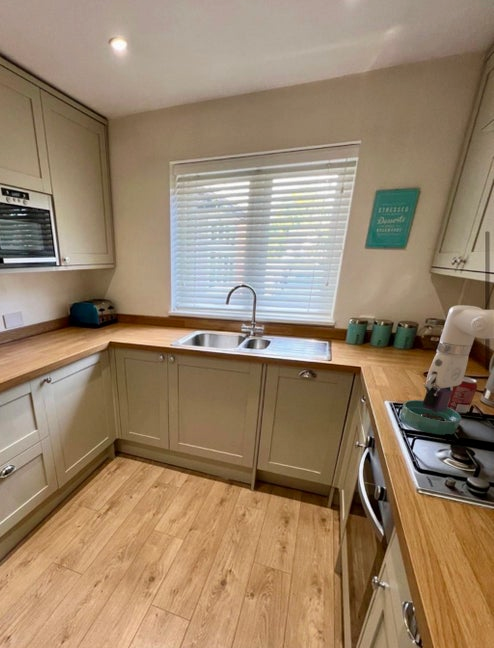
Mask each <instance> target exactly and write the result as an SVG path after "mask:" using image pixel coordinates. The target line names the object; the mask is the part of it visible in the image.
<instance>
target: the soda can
mask: <svg viewBox="0 0 494 648" xmlns="http://www.w3.org/2000/svg"><path fill="white" fill-rule="evenodd" d="M477 389H478V380H477V379H475V378H472V377H469V376H464V378H463V381H462V383H461V384H460V385H458V386H455V387H454V388H453V390H452V394H451V397H450V400H449V402H448V405H447V407H449V408H451V409H453V410H455V411H456V412H457V413H459V414H460V415H462V414H463V415H465V414H467V413H468V411H469V409H470V407H471V405H472V402H473V399H474V397H475V394H476V392H477Z"/></svg>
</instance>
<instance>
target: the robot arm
mask: <svg viewBox="0 0 494 648" xmlns="http://www.w3.org/2000/svg"><path fill="white" fill-rule="evenodd" d="M475 338H477V339H480V340H481V339H482V340H491V339H494V309H483V308H481V307H479V306H475V305H466V304H465V305H463V304H459V305H453V306H451V307H450V308H449V310H448V313H447V317H446V319H445V322H444V326H443V329H442V332H441V335H440V339H439V341H438V345H437V348H436V353H435V355H434V358H433V360H432V362H431V365H430V367H429V369H428V373H427V376H426V382H425V384H424V385H423V387H424V388H425V390H426V392H425V395H426V393H427V395H426V398H425V397H424V398H425V401H424V400H423V401H424V405H427V406H429V407H431V408H435V406H436V403H437V400H438V397H439V396H437V395H438V393H439V391H440V389H441V388H445V389H448V390H451V391H452V390H453V388H454V387H455V386H458V385H460V384H461V383H462V381H463V378H464V377H465V374H466V369H467V367H468V362H469V355H470V352H471V349H472V347H473V344H474V341H475ZM433 386H434V387H436V390H435V389H434V388H433Z"/></svg>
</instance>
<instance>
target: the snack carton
mask: <svg viewBox="0 0 494 648" xmlns="http://www.w3.org/2000/svg"><path fill="white" fill-rule="evenodd" d="M433 388H434V389H435V390H436V387H434V386H433ZM451 394H452V391H451V390H448V389H445V388H441V389H440V391H439V393H438V395H437V396H439V397H438V400H437V403H436V406H435V408H431V407H429V406H427V405H424V401H425V398H426V395H427V393H426V392H425V395H424V397H423V400H422V401H423V405H422V406H423V407H425V408H428V409H430V410H433V411H435V412H439V411H444V410H446V408H447V405H448V402H449V400H450V397H451Z"/></svg>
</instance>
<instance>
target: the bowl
mask: <svg viewBox="0 0 494 648" xmlns="http://www.w3.org/2000/svg"><path fill="white" fill-rule="evenodd" d="M423 401H424V400H422V399H421V400H420V399H409V400H406V401H404V403H403V404H402V407H401V411H400V414H399V419H400V420H401V421H402V422H403V423H404V424H406V425H407V426H409V427H412V428H413V429H416V430H418V431H420V432H424V433H429V434H434V435H440V436H441V435H442V436H446V435H445V434H450V435H453V434H455V433H456V432H457V430H458V427H459V425H460V423H461V420H462V416H461V414H460V413H457V412H456V411H455V410H453V409H451V408H449V407H447V408H446V410H444V411H439V412H435V411H433V410H430V409H428V408H425V407H423V406H422V405H423ZM422 413H429V414H434V415H437V416H441V417H443V418H444V419H446V420H447V421H440V420H435V419H430V418H427V417H423V416H421V414H422ZM454 432H455V433H454ZM452 433H453V434H452Z"/></svg>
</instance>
